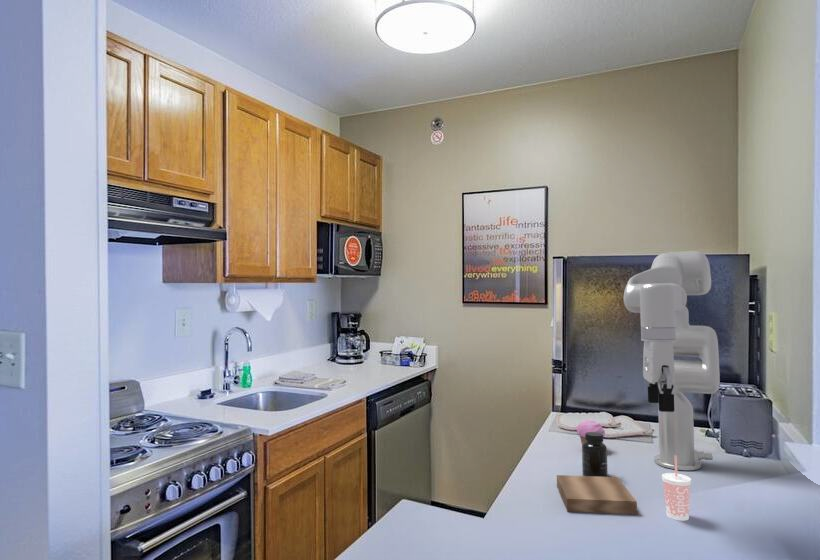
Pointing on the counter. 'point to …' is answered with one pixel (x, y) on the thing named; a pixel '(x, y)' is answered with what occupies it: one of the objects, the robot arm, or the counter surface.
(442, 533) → the counter surface
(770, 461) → the counter surface
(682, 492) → the beverage cup
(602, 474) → the supplement bottle
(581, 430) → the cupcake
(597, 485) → the walnut base
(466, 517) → the counter surface
